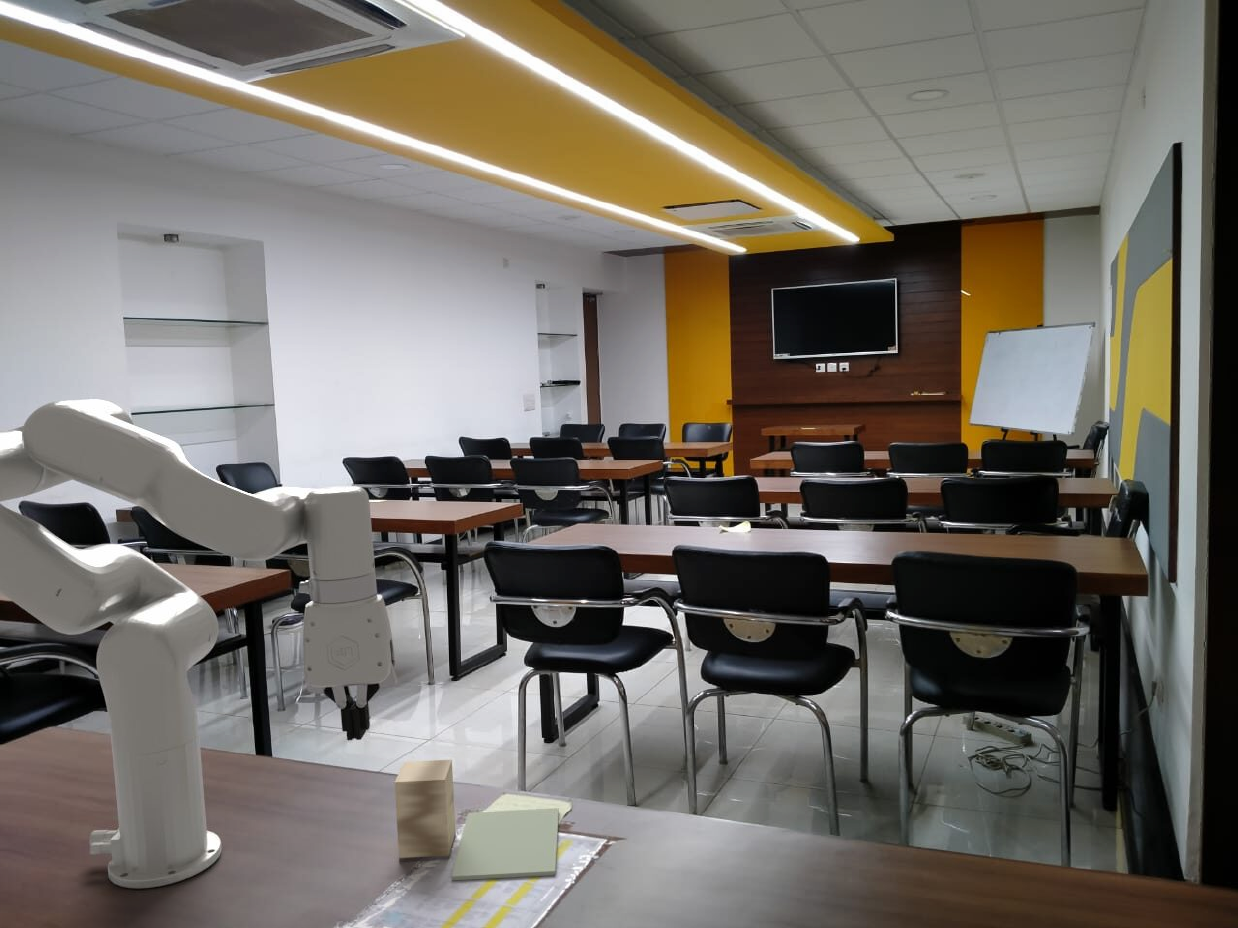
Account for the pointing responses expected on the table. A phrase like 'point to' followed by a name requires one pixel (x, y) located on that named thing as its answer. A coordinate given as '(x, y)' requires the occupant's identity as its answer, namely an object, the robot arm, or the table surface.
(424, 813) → the maple block
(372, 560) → the robot arm
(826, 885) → the table surface
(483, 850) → the rubber mat
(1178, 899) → the table surface
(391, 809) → the table surface
